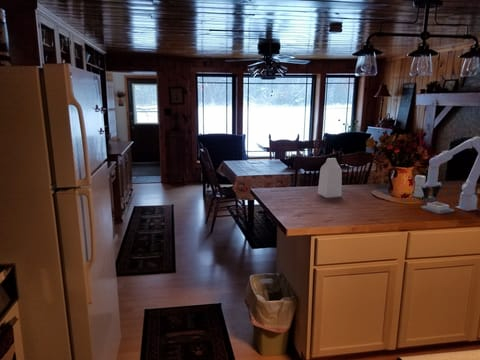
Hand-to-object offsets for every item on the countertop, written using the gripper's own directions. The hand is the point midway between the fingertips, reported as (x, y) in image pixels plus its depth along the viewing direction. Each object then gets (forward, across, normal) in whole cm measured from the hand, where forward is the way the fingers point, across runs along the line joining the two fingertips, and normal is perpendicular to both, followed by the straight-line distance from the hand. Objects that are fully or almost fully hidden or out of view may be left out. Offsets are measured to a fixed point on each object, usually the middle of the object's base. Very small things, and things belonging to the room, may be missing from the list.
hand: (430, 197), depth 234 cm
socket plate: (+4, +5, +10) cm, 12 cm away
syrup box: (+5, -9, -17) cm, 20 cm away
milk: (+5, +45, -44) cm, 63 cm away
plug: (+5, 0, 0) cm, 5 cm away
